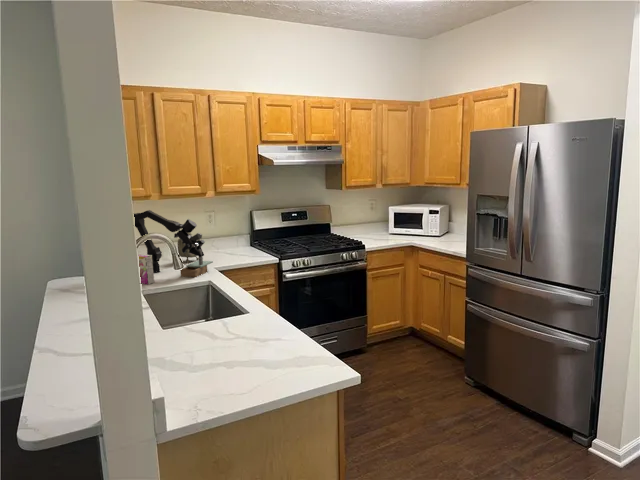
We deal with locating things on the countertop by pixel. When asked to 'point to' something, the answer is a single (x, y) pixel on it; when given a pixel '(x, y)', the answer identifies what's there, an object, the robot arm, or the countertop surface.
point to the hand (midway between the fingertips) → (202, 256)
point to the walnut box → (193, 271)
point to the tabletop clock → (190, 255)
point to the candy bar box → (146, 269)
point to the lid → (199, 262)
